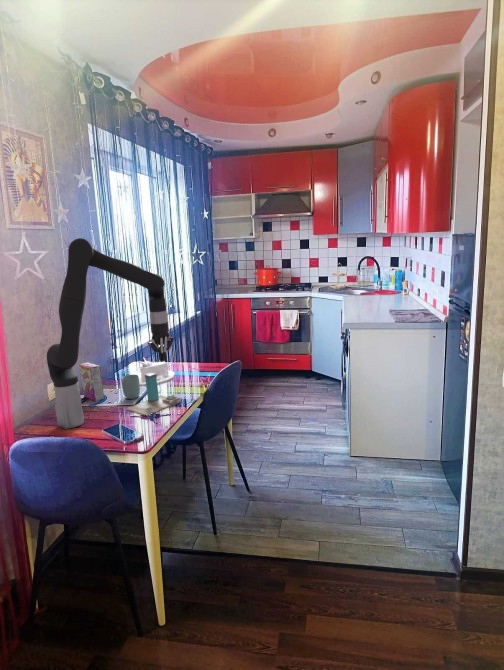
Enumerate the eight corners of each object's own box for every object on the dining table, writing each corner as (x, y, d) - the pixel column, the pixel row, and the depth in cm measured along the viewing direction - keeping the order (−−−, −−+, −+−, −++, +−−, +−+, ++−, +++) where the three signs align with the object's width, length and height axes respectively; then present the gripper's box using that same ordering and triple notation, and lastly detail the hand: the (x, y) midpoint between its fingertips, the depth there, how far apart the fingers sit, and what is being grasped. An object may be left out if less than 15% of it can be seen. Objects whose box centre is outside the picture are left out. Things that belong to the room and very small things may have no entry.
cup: (136, 400, 213) (134, 379, 211) (120, 400, 215) (118, 379, 213) (143, 394, 221) (141, 374, 219) (128, 394, 222) (126, 374, 220)
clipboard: (147, 416, 194) (146, 411, 193) (126, 409, 202) (125, 405, 202) (181, 401, 208) (180, 397, 208) (160, 396, 217) (159, 392, 216)
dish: (126, 389, 231) (123, 367, 229) (127, 375, 255) (124, 355, 253) (176, 382, 237) (174, 361, 234) (172, 369, 261) (170, 349, 258)
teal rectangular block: (152, 402, 207) (149, 375, 205) (147, 400, 210) (144, 374, 207) (159, 399, 210) (156, 373, 207) (154, 398, 212) (151, 372, 210)
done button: (171, 402, 205) (170, 397, 205) (166, 401, 207) (165, 395, 207) (176, 400, 208) (176, 394, 207) (171, 398, 210) (171, 393, 209)
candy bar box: (83, 397, 222) (78, 364, 219) (93, 394, 226) (88, 361, 222) (95, 402, 215) (90, 367, 211) (105, 399, 218) (100, 365, 215)
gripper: (152, 324, 192) (156, 365, 196) (176, 319, 202) (180, 358, 205) (141, 323, 197) (145, 363, 200) (165, 318, 207) (168, 356, 210)
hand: (162, 360), depth 203 cm, fingers closed
